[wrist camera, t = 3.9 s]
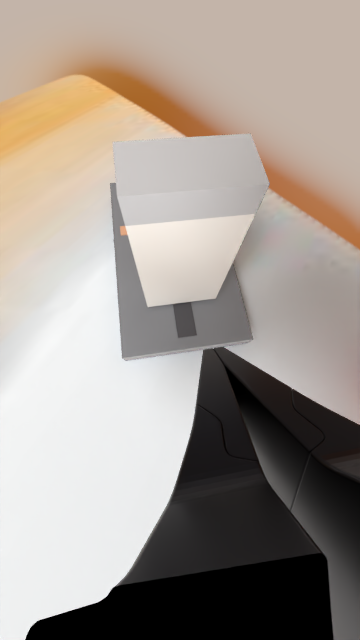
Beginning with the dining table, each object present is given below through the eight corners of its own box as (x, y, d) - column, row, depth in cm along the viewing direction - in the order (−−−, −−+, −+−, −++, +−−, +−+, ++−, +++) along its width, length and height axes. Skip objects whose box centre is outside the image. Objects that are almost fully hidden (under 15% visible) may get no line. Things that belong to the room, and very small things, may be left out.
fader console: (247, 342, 20) (253, 338, 18) (125, 360, 19) (121, 357, 17) (207, 187, 26) (209, 174, 24) (113, 195, 25) (109, 181, 23)
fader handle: (215, 298, 19) (269, 184, 9) (147, 307, 18) (117, 196, 8) (208, 269, 20) (250, 133, 9) (144, 276, 19) (112, 141, 9)
